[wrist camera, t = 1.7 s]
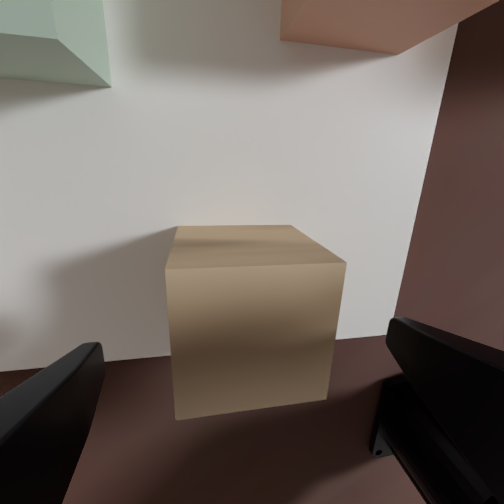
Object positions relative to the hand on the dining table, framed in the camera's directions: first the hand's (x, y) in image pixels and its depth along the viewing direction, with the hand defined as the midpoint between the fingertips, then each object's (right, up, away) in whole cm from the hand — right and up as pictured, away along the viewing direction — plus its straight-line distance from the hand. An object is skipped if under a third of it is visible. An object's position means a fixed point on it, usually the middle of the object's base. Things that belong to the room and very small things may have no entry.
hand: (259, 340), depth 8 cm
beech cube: (-1, +1, +4) cm, 5 cm away
